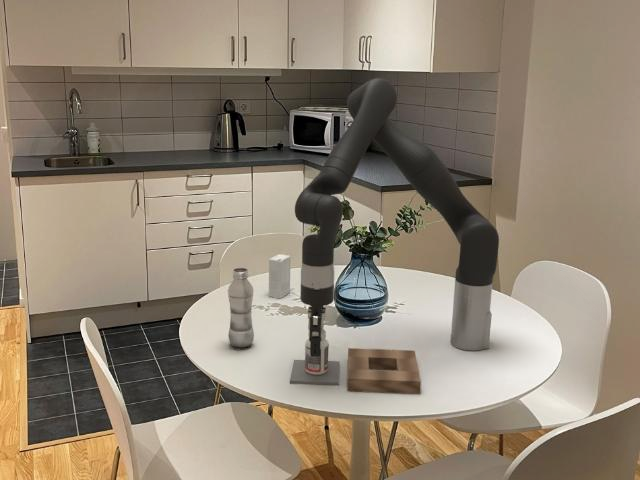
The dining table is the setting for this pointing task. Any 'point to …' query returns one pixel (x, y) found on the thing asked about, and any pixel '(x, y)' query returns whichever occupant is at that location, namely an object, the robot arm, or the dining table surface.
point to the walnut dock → (383, 371)
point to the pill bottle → (317, 363)
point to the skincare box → (279, 276)
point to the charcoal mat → (304, 377)
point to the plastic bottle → (240, 309)
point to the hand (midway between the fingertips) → (316, 347)
